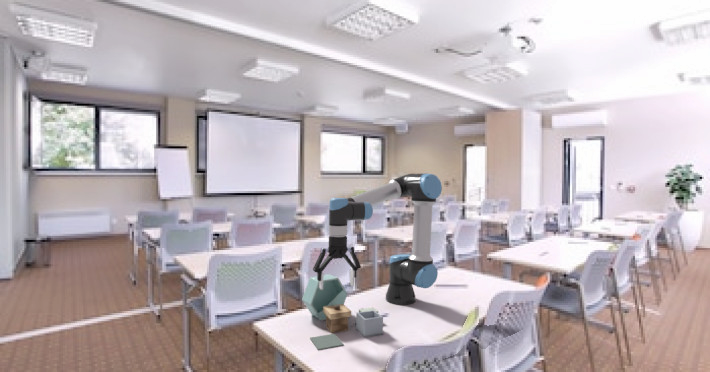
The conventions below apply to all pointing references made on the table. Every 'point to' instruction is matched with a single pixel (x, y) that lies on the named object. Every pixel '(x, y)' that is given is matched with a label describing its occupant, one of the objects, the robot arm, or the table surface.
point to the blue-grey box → (369, 323)
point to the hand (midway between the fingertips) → (336, 287)
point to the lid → (337, 311)
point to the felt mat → (326, 341)
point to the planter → (323, 295)
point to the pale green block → (368, 309)
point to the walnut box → (337, 324)
